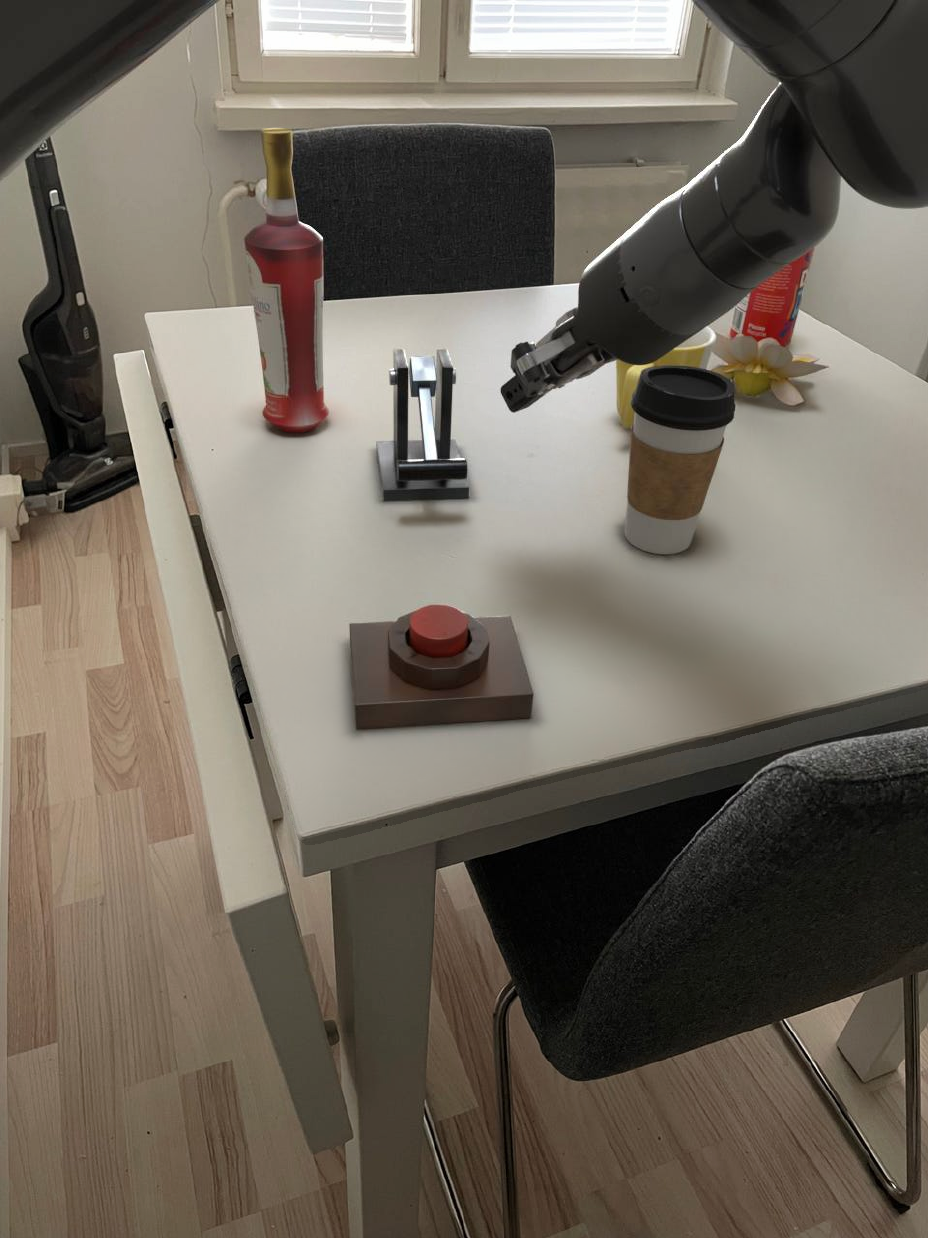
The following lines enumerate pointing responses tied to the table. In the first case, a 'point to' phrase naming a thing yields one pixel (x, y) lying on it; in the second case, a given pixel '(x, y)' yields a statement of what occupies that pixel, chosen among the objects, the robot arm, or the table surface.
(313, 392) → the liquor
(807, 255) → the soda can
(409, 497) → the lever stand
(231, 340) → the table surface
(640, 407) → the coffee cup
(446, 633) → the button
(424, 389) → the tap lever
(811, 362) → the decorative flower
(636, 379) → the mug
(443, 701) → the button block
